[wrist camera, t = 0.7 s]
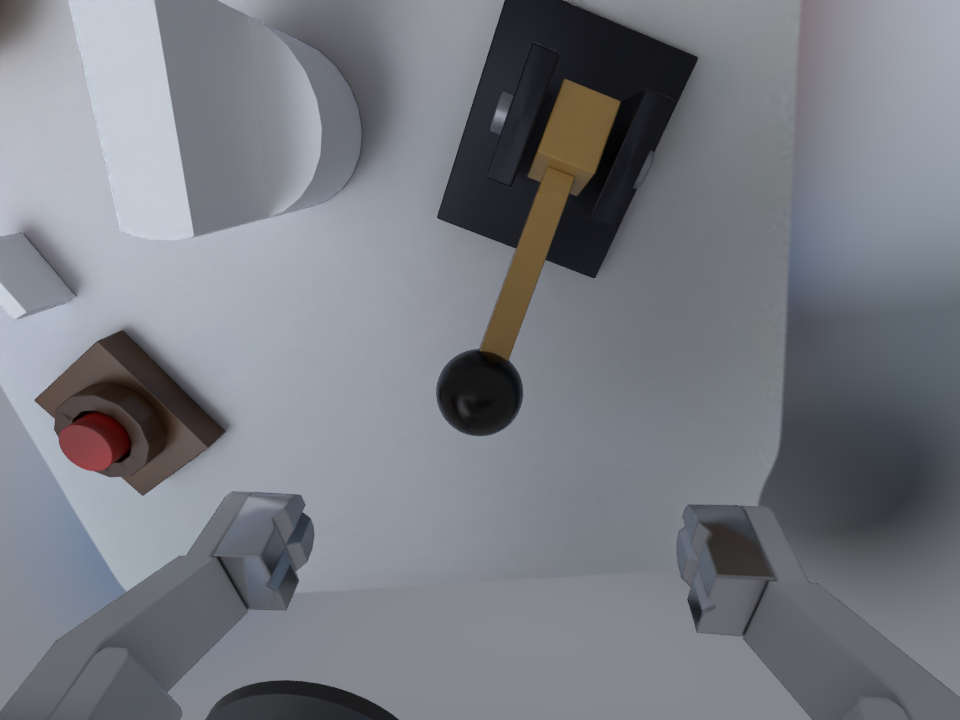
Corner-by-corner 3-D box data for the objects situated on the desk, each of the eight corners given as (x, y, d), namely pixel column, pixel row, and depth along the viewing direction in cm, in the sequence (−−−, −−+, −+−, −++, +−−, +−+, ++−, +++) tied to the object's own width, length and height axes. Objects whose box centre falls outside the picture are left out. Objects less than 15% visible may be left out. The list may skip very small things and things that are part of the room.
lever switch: (592, 274, 30) (629, 343, 19) (439, 215, 30) (390, 253, 19) (691, 61, 25) (814, -5, 15) (512, -15, 25) (501, -141, 14)
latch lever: (500, 440, 20) (510, 455, 17) (425, 414, 20) (421, 424, 16) (609, 141, 20) (639, 99, 17) (536, 112, 20) (553, 64, 17)
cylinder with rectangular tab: (198, 31, 27) (-31, -52, 16) (359, 40, 26) (238, -39, 15) (222, 202, 30) (49, 232, 19) (364, 213, 30) (270, 249, 19)
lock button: (141, 440, 34) (122, 455, 32) (111, 464, 35) (92, 479, 33) (100, 402, 33) (78, 415, 31) (70, 428, 34) (47, 442, 32)
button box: (225, 431, 37) (192, 462, 34) (161, 478, 40) (124, 512, 36) (122, 330, 35) (74, 351, 31) (60, 386, 37) (9, 412, 33)
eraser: (22, 232, 32) (-37, 242, 29) (76, 295, 34) (26, 312, 30) (10, 241, 33) (-49, 252, 29) (64, 303, 34) (14, 320, 31)
